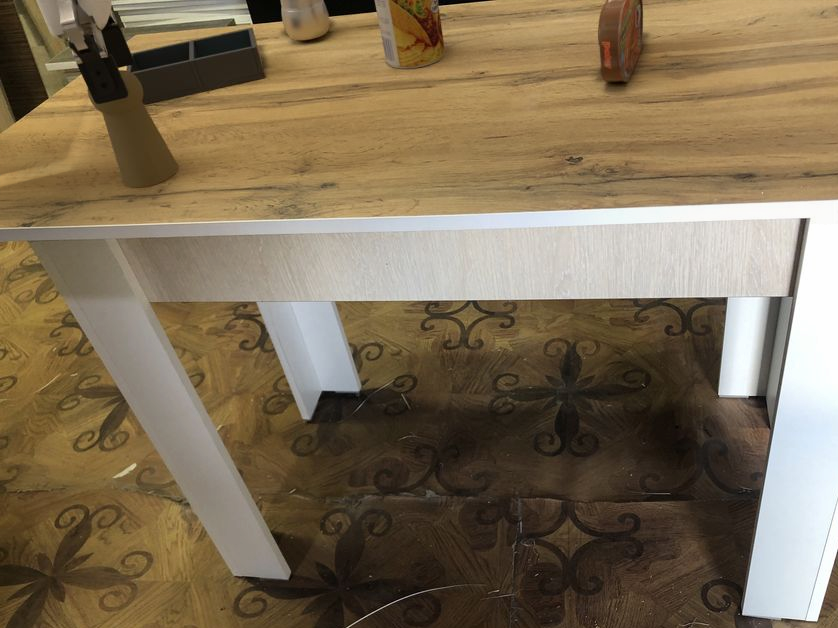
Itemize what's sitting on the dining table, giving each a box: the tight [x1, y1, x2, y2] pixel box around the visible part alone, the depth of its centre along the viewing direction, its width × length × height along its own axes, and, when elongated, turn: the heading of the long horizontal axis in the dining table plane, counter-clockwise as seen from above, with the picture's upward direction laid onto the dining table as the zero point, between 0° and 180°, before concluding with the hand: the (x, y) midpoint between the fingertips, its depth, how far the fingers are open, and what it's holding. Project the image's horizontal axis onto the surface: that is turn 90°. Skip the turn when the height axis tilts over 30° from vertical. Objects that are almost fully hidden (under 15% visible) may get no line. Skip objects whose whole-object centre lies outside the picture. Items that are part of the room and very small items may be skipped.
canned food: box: [374, 0, 446, 70], centre depth 98 cm, size 8×8×12 cm
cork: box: [86, 69, 179, 189], centre depth 81 cm, size 6×6×11 cm
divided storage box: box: [125, 27, 266, 105], centre depth 104 cm, size 17×9×4 cm, turn 106°
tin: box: [597, 0, 644, 83], centre depth 88 cm, size 15×3×8 cm, turn 161°
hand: (116, 82), depth 78 cm, fingers open, 9 cm apart
